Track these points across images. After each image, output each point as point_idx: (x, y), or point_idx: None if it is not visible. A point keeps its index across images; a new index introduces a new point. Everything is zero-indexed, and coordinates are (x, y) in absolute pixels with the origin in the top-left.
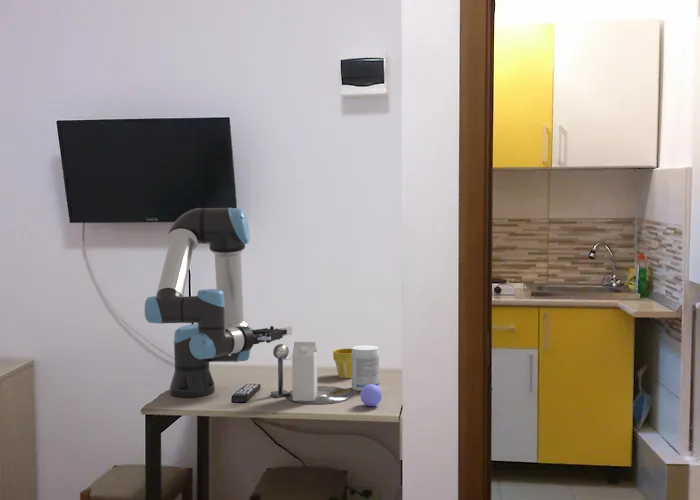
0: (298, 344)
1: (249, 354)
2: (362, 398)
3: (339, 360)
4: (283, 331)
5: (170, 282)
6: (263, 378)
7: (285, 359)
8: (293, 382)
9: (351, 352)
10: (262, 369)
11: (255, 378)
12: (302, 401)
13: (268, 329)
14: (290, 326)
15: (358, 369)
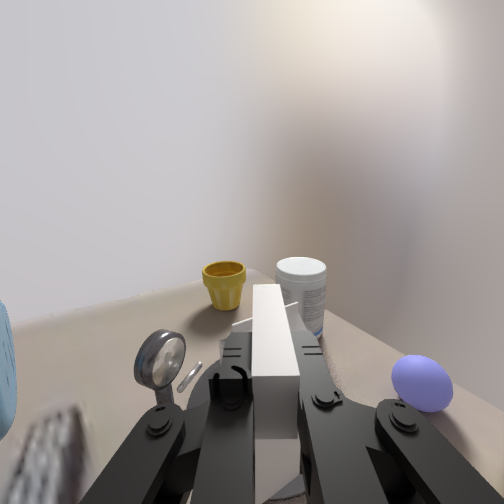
0: (248, 329)
1: (12, 411)
2: (428, 406)
3: (223, 288)
4: (324, 368)
5: None
6: (76, 369)
7: (189, 381)
8: (258, 466)
9: (221, 267)
10: (61, 331)
11: (54, 378)
12: (283, 489)
13: (230, 464)
14: (280, 289)
15: (307, 310)
